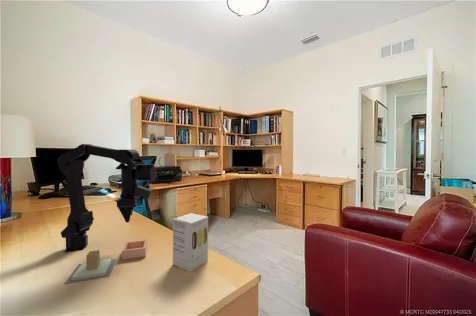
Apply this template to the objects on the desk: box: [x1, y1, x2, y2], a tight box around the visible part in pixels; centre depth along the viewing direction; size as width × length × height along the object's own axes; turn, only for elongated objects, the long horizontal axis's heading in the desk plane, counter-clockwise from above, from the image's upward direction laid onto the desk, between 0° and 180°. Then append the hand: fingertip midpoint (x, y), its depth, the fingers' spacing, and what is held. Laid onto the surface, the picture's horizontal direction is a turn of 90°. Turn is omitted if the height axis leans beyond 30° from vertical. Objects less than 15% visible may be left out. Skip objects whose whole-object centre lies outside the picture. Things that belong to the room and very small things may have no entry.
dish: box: [121, 239, 148, 261], centre depth 83 cm, size 8×8×4 cm
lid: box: [72, 250, 112, 280], centre depth 72 cm, size 9×9×6 cm
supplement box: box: [172, 212, 209, 273], centre depth 78 cm, size 10×9×17 cm
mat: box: [63, 258, 118, 285], centre depth 72 cm, size 12×12×1 cm
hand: (129, 218), depth 86 cm, fingers open, 9 cm apart
